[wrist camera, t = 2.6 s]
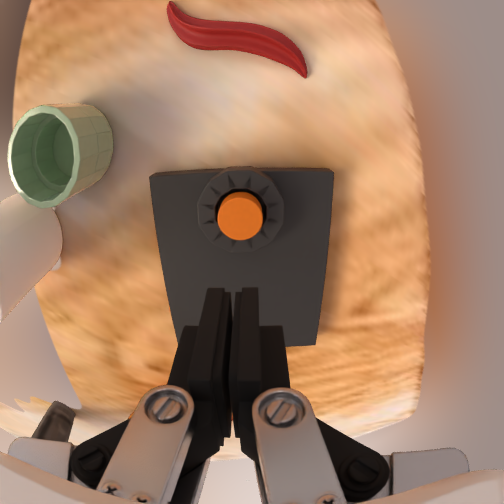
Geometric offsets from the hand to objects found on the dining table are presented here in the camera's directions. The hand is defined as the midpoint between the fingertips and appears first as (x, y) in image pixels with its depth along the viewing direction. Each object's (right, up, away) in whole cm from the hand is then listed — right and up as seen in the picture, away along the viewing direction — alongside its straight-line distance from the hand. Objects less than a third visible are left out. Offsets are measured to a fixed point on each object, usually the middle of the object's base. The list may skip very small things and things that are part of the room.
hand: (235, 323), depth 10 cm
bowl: (-13, +11, +9) cm, 20 cm away
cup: (-22, +4, +13) cm, 26 cm away
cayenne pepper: (-1, +17, +7) cm, 19 cm away
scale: (0, +1, +14) cm, 14 cm away
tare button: (0, +5, +10) cm, 11 cm away
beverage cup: (-32, -24, +27) cm, 48 cm away
